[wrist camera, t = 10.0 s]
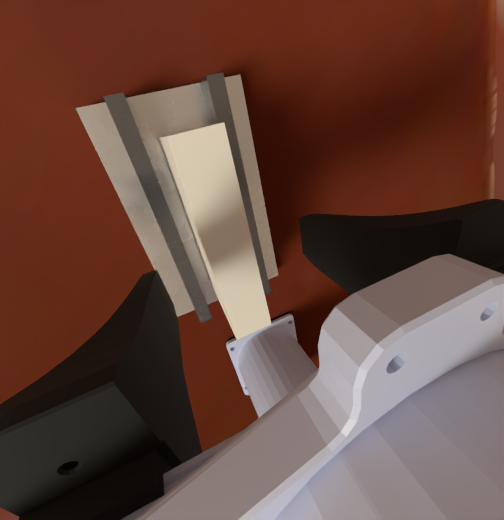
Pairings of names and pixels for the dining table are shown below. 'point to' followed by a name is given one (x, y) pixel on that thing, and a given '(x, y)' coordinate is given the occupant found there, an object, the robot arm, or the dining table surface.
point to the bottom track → (162, 183)
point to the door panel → (219, 222)
